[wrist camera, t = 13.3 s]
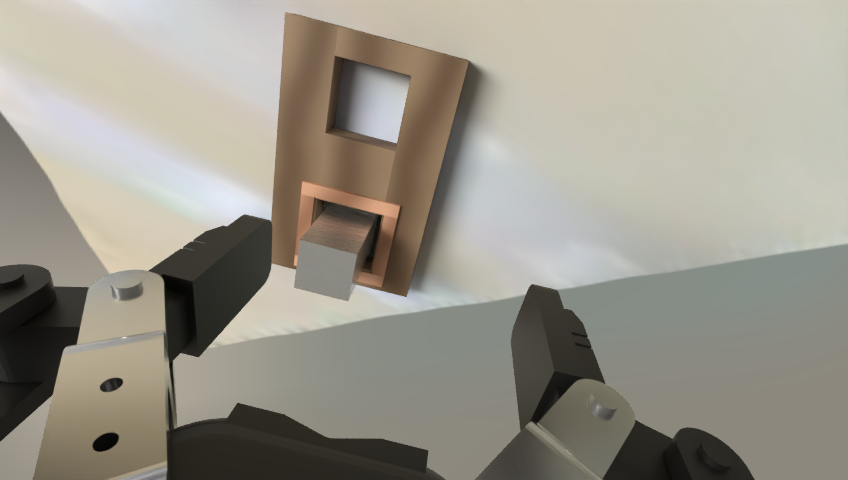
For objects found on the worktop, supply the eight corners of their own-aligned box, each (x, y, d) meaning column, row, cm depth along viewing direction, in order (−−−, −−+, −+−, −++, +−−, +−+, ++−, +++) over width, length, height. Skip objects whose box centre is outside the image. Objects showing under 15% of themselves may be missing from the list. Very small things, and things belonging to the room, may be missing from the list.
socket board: (468, 60, 32) (469, 61, 29) (409, 283, 42) (405, 298, 39) (297, 14, 31) (283, 12, 29) (279, 250, 41) (267, 264, 39)
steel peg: (379, 210, 38) (357, 254, 30) (370, 249, 40) (348, 301, 32) (333, 198, 38) (299, 239, 30) (327, 238, 40) (294, 287, 32)
